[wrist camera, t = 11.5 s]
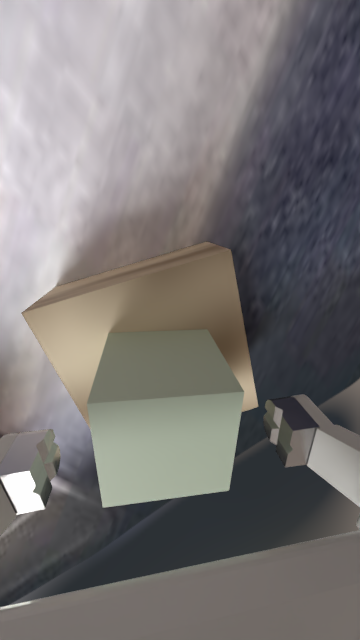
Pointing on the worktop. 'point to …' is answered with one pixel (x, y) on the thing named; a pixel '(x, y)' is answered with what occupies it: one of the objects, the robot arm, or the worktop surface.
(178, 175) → the worktop surface
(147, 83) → the worktop surface
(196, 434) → the sage block
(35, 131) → the worktop surface
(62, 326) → the birch block
